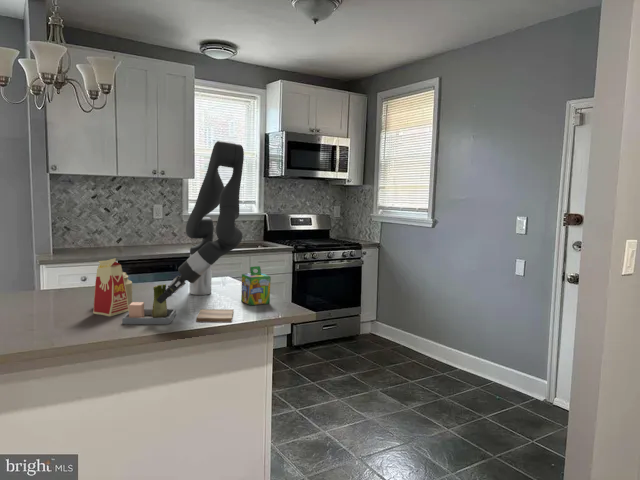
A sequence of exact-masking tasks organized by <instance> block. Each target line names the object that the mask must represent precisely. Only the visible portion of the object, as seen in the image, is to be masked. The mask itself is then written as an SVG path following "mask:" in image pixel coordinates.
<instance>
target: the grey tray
mask: <svg viewBox="0 0 640 480" xmlns="http://www.w3.org/2000/svg"><path fill="white" fill-rule="evenodd" d="M152 309H153V308H144V316H152ZM176 315H177V309H176V308H167V315H166V316H168V317H165V318H153V317H144V318H129V311H127V313H126V314H125V315H124V316H123V317H122V318H121V321H122V325H170V324H171V323H172V321H173V320H174V318H175V317H176Z"/></svg>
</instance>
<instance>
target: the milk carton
mask: <svg viewBox="0 0 640 480" xmlns="http://www.w3.org/2000/svg"><path fill="white" fill-rule="evenodd" d="M116 260H117V258H116V257H114V258H111V259H108V260H98V261H97V262H98V263H99V264H98V267H97V268H96V273H95V274H96V276H95V282H94V283H95V284H94V296H93V311H92V312H93V314H94V315H100V316H105V317H113V316H116V315H120V314H124V313H126V312H127V313H128V312H129V305H128V298H127V293H126V287H125V282H124V277H123V272H124V271H123V268H122V264H120V263H119V262H117V261H116Z"/></svg>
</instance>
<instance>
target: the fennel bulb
mask: <svg viewBox="0 0 640 480" xmlns="http://www.w3.org/2000/svg"><path fill="white" fill-rule="evenodd" d="M166 289H167V284H166V283H164V284H159V285H154V286H153V301H152V302H153V304H152V308H151V309H152V315H151V318H167V316H168V315H167V309H168V305H167V299H166V300H165V301H164V302H163V303H161V304H160V303H159V302H158V301H157V298H158V297H159V296H160V295H162V294H163V293H164V291H165V290H166Z"/></svg>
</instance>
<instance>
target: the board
mask: <svg viewBox="0 0 640 480" xmlns="http://www.w3.org/2000/svg"><path fill="white" fill-rule="evenodd" d="M233 316H234V309H229V308H228V309H227V308H226V309H225V308H223V309H216V308H215V309H214V308H213V309H211V308H210V309H209V308H208V309H205V308H204V309H203V308H202V309H200V310H199V312H198V313H197V316H196V319H195V322H196V323H197V322H202V323H203V322H207V323H208V322H216V323H217V322H220V323H221V322H227V323H228V322H229V323H231V322H233V321H232V320H233Z"/></svg>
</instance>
